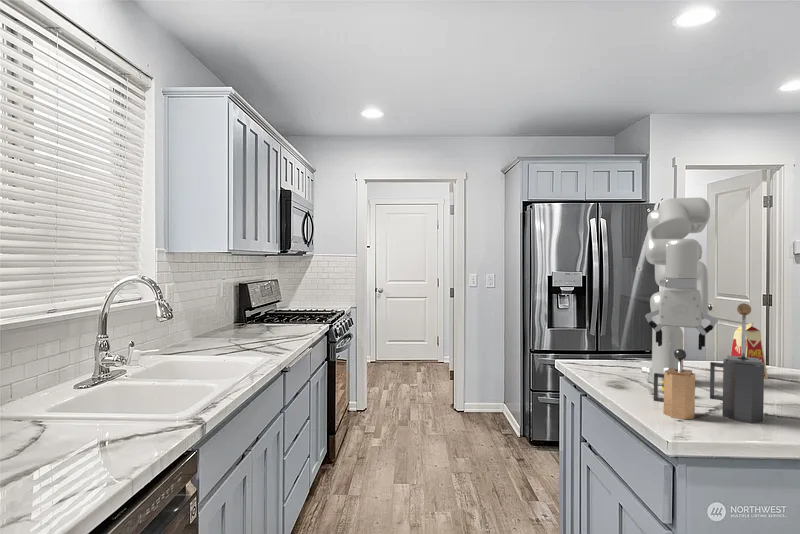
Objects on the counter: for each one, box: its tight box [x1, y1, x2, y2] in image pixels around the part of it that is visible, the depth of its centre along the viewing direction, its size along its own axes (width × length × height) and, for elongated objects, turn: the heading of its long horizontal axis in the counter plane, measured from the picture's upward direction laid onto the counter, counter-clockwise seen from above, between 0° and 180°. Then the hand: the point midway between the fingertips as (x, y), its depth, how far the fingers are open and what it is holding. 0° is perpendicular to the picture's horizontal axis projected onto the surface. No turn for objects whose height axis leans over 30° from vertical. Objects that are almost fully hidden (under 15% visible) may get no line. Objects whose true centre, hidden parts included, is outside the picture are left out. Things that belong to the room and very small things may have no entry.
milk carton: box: [730, 322, 769, 380], centre depth 188 cm, size 9×9×20 cm
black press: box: [709, 354, 765, 424], centre depth 138 cm, size 12×9×16 cm
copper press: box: [653, 368, 696, 420], centre depth 139 cm, size 10×7×12 cm
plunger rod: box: [736, 302, 752, 360], centre depth 137 cm, size 3×3×21 cm
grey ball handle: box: [674, 349, 687, 372], centre depth 138 cm, size 3×3×17 cm
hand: (679, 347), depth 139 cm, fingers open, 9 cm apart
